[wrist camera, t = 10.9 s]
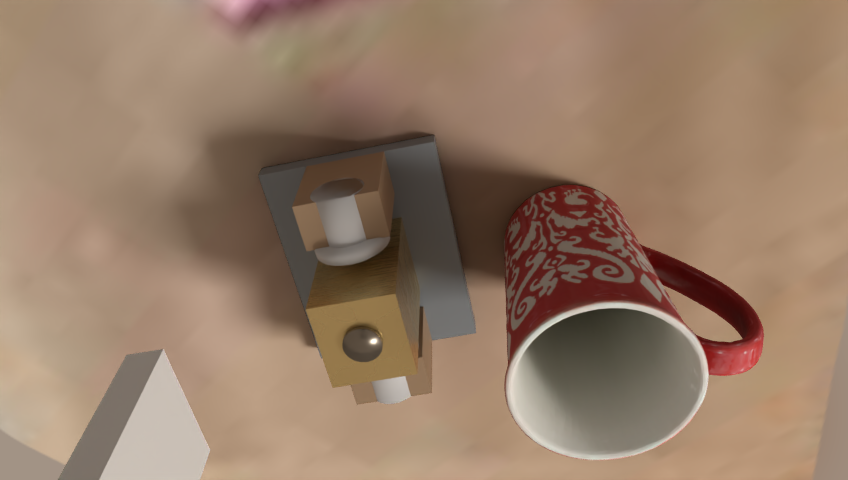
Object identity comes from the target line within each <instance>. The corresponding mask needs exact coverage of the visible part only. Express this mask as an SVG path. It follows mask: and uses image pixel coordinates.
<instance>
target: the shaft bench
mask: <svg viewBox="0 0 848 480" xmlns="http://www.w3.org/2000/svg"><path fill="white" fill-rule="evenodd" d="M258 176H259V179H260V182H261V185H262V188H263V191H264V194H265V197H266V200H267V202H268V205H269V208H270V211H271V214H272V217H273V220H274V223H275V226H276V229H277V231H278V234H279V237H280V240H281V243H282V246H283V249H284V252H285V255H286V258H287V261H288V263H289V266H290V269H291V272H292V275H293V278H294V281H295V284H296V287H297V290H298V292H299V295H300V298H301V301H302V304H303V307H304V310H305V313H306V316H307V319H308V321H309V318H308V315H307V312H306V306H307V302H308V298H309V294H310V290H311V286H312V283H313V279H314V275H315V271H316V267H317V263H318V260H319V261H320V262H322V263H324V264H327V265H332V266H344V265H352V264H357V263H360V262H363V261H365V260H367V259H369V258H371V257H373V256H375V255H377V254H378V253H380V252H381V251H382V250H383V249H385V247H386V246H387V245H388V244H389V241H390V234H391V224H392V219H394V218H400V217H402V221H403V225H404V229H405V233H406V236H407V240H408V244H409V248H410V252H411V256H412V260H413V264H414V268H415V271H416V275H417V279H418V283H419V287H420V309H419V343H418V374H415V375H409V376H402V377H396V378H390V379H384V380H378V381H372V382H365V383H359V384H353V385H351V388H352V391H353V394H354V397H355V400H356V403H357V405H358V404H364V403H371V402H377V401H378V402H380V403H384V404H394V403H398V402H401V401H404V400H406V399H408V398H409V397H410V396H415V395H422V394H428V393H432V340H437V339H443V338H449V337H455V336H461V335H467V334H473V333H476V326H475V320H474V315H473V311H472V306H471V302H470V297H469V292H468V288H467V283H466V279H465V274H464V269H463V265H462V260H461V256H460V251H459V246H458V242H457V237H456V233H455V228H454V224H453V219H452V214H451V210H450V205H449V201H448V196H447V191H446V187H445V182H444V178H443V173H442V169H441V164H440V159H439V155H438V150H437V146H436V141H435V136H434V135H431V136H426V137H421V138H416V139H410V140H405V141H400V142H395V143H390V144H385V145H380V146H374V147H369V148H364V149H359V150H354V151H349V152H344V153H338V154H333V155H328V156H323V157H318V158H313V159H307V160H302V161H297V162H292V163H287V164H282V165H277V166H271V167H266V168H262V169H261V171H260V173H259V175H258ZM309 324H310V321H309ZM310 327H311V324H310ZM311 330H312V333H313V336H314V339H315V342H316V345H317V348H318V350H319V347H318V344H317V341H316V338H315V335H314V332H313V329H312V327H311ZM319 353H320V356H321V358H322V355H321V352H320V350H319Z"/></svg>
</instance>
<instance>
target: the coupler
mask: <svg viewBox="0 0 848 480" xmlns="http://www.w3.org/2000/svg"><path fill="white" fill-rule="evenodd" d="M419 309H420V287H419V283H418V279H417V275H416V271H415V268H414V264H413V260H412V256H411V252H410V248H409V244H408V240H407V236H406V233H405V229H404V225H403V221H402V217H400V218H394V219H392V224H391V234H390V241H389V244H388V245H387V246H386V247H385V249H383V250H382V251H381V252H380V253H378V254H377V255H375V256H373V257H371V258H369V259H367V260H365V261H363V262H360V263H357V264H352V265H344V266H332V265H327V264H324V263H322V262H320V261H319V260H318V263H317V267H316V271H315V275H314V279H313V283H312V286H311V290H310V294H309V298H308V302H307V306H306V312H307V315H308V318H309V321H310V324H311V327H312V329H313V332H314V335H315V338H316V341H317V344H318V347H319V350H320V352H321V355H322V358H323V361H324V364H325V367H326V370H327V373H328V375H329V378H330V381H331V384H332V387H333V388H335V387H341V386H347V385H353V384H359V383H365V382H372V381H378V380H384V379H390V378H396V377H402V376H409V375H415V374H418V343H419Z"/></svg>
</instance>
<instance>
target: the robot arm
mask: <svg viewBox="0 0 848 480" xmlns="http://www.w3.org/2000/svg"><path fill="white" fill-rule="evenodd" d="M209 452H210V449H209V447H208V445H207V442H206V440H205V438H204V436H203V434H202V432H201V429H200V427H199V425H198V423H197V421H196V419H195V417H194V414H193V412H192V410H191V408H190V406H189V404H188V401H187V399H186V397H185V395H184V393H183V391H182V388H181V386H180V384H179V382H178V380H177V378H176V375H175V373H174V371H173V369H172V367H171V365H170V362H169V360H168V358H167V356H166V354H165V352H164V349H161V350H155V351H149V352H142V353H136V354H130V355H126V357H125V359H124V361H123V363H122V364H121V366H120V368H119V370H118V372H117V373H116V375H115V377H114V379H113V381H112V383H111V384H110V386H109V388H108V390H107V392H106V393H105V395H104V397H103V399H102V401H101V402H100V404H99V406H98V408H97V410H96V411H95V413H94V415H93V417H92V419H91V421H90V422H89V424H88V426H87V428H86V430H85V431H84V433H83V435H82V437H81V439H80V440H79V442H78V444H77V446H76V448H75V449H74V451H73V453H72V455H71V457H70V459H69V460H68V462H67V464H66V466H65V468H64V469H63V471H62V473H61V475H60V477H59V478H58V480H200V478H201V475H202V472H203V469H204V467H205V464H206V461H207V458H208V455H209Z"/></svg>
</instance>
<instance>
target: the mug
mask: <svg viewBox="0 0 848 480" xmlns="http://www.w3.org/2000/svg"><path fill="white" fill-rule="evenodd" d="M504 259H505V288H506V315H507V325H506V328H507V353H508V367H507V371H506V376H505V397H506V402H507V405H508V408H509V411H510V413H511V415H512V417H513V419H514V420H515V422H516V424H517V425H518V426H519V427H520V429H521V430H522V431H523V432H524V433H525V434H526V435H527V436H528V437H529V438H530V439H532V440H533V441H534V442H536V443H537V444H539V445H540V446H542V447H544V448H546V449H548V450H550V451H552V452H555V453H557V454H561V455H564V456H567V457H571V458H576V459H583V460H612V459H619V458H625V457H630V456H633V455H637V454H640V453H643V452H646V451H648V450H651V449H653V448H655V447H658V446H660V445H662V444H663V443H665V442H666V441H668V440H670V439H671V438H673V437H674V436H675V435H676V434H678V433H679V432H680V431H681V430H682V429H683V428H684V427H686V426H687V424H688V423H689V422H690V421H691V420H692V418H693V417H694V416H695V414H696V413H697V411H698V409H699V408H700V406H701V404H702V402H703V400H704V397H705V394H706V391H707V385H708V375H719V376H726V375H735V374H740V373H743V372H746V371H748V370H749V369H751V368H752V367H753V366H754V365H755V364H756V363H757V362H758V360H759V358H760V356H761V353H762V347H763V338H764V333H763V327H762V324H761V321H760V319H759V317H758V315H757V314H756V312H755V311H754V309H753V308H752V307H751V306H750V305H749V304H748V303H747V301H746V300H745V299H744V298H742V297H741V296H740V295H738V294H737V293H736V292H735V291H733V290H732V289H731V288H729V287H728V286H726V285H725V284H723V283H722V282H720V281H718V280H716V279H715V278H713V277H711V276H709V275H707V274H705V273H704V272H702V271H700V270H698V269H696V268H694V267H692V266H690V265H688V264H686V263H684V262H681V261H679V260H677V259H675V258H672V257H670V256H668V255H665V254H663V253H661V252H658V251H655V250H653V249H650V248H647V247H645V246H642V245H641V244H639V243H638V241H637V239H636V237H635V235H634V234H633V232H632V230H631V228H630V226H629V224H628V222H627V220H626V218H625V217H624V215H623V213H622V212H621V210H620V209H619V207H618V206H617V205H616V204H615V203H614V202H613V201H612V200H611V199H610V198H609V197H607V196H606V195H604V194H603V193H601V192H599V191H597V190H594V189H592V188H588V187H584V186H579V185H562V186H556V187H552V188H548V189H545V190H543V191H541V192H538V193H537V194H535V195H533V196H532V197H530V198H529V199H527V200H526V201H525V202H523V203H522V205H521V206H520V207H519V208H518V209H517V210H516V211H515V213H514V214H513V216H512V217H511V219H510V221H509V223H508V226H507V229H506V233H505V239H504ZM663 285H664V286H666V287H669V288H671V289H673V290H675V291H677V292H679V293H681V294H683V295H685V296H687V297H688V298H690V299H692V300H694V301H696V302H698V303H699V304H701V305H703V306H705V307H706V308H708V309H710V310H711V311H713V312H715V313H716V314H717V315H719V316H720V317H722V318H723V319H725V320H726V321H727V322H728V323H729V324H731V325H732V326H733V327H734V328H735V329H736V330H737V331H738V333H739V334H740V335H741V337H742V338H743V339H742V340H738V341H734V342H717V341H711V340H708V339H705V338H702V337H700V336H697V335H696V334H694V333H693V331H692V330H691V329H690V328H689V327H688V326H687V325H686V324H685V323H684V322H683V320H682V319H681V317H680V315H679V313H678V311H677V309H676V307H675V305H674V304H673V302H672V301H671V299H670V297H669V295H668V294H667V292H666V290H665V289H664V287H663Z"/></svg>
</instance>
